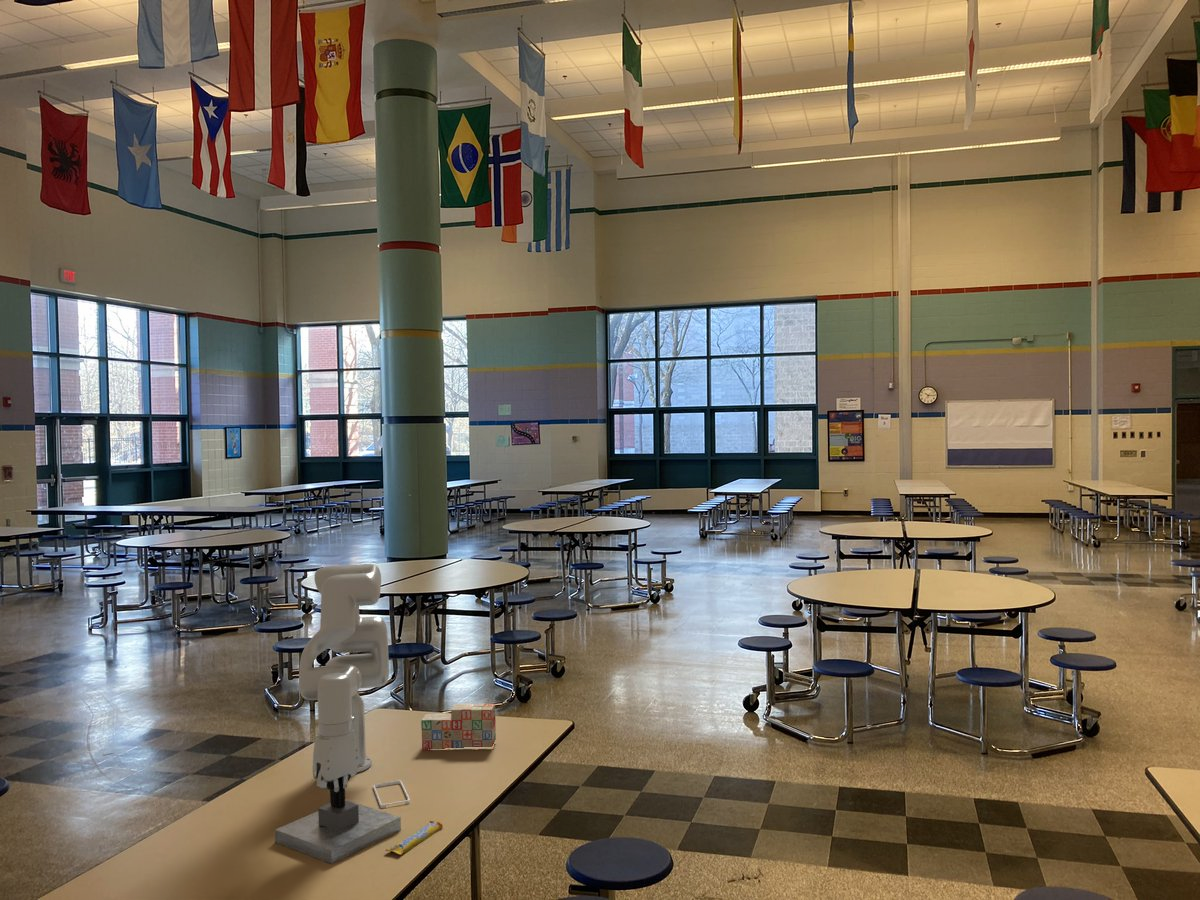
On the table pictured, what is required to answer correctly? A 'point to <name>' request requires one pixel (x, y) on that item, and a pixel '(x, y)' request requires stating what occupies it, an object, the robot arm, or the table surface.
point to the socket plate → (337, 834)
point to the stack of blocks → (460, 727)
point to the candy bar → (416, 838)
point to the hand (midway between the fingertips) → (338, 806)
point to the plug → (338, 816)
